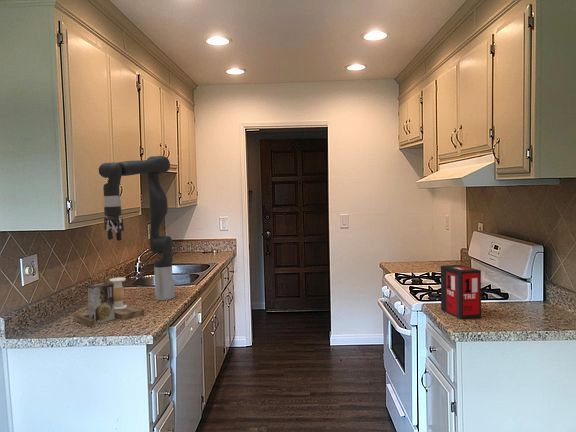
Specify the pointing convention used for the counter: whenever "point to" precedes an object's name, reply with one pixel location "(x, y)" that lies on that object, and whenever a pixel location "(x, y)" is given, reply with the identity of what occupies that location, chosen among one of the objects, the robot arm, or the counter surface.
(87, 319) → the notched board
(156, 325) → the counter surface
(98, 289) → the coffee box
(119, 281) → the bobbin
